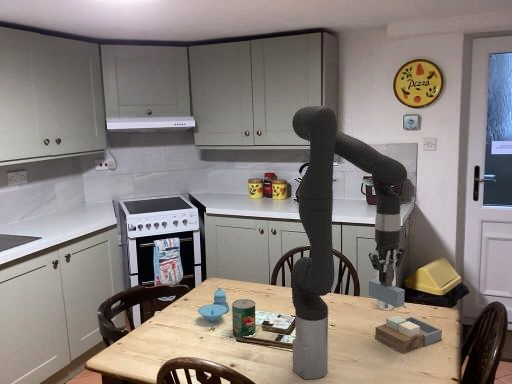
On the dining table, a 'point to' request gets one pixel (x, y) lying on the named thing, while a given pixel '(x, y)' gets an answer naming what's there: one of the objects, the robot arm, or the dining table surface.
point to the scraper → (387, 290)
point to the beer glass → (382, 304)
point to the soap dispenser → (215, 307)
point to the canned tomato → (243, 318)
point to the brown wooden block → (398, 339)
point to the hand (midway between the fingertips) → (386, 281)
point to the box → (427, 331)
